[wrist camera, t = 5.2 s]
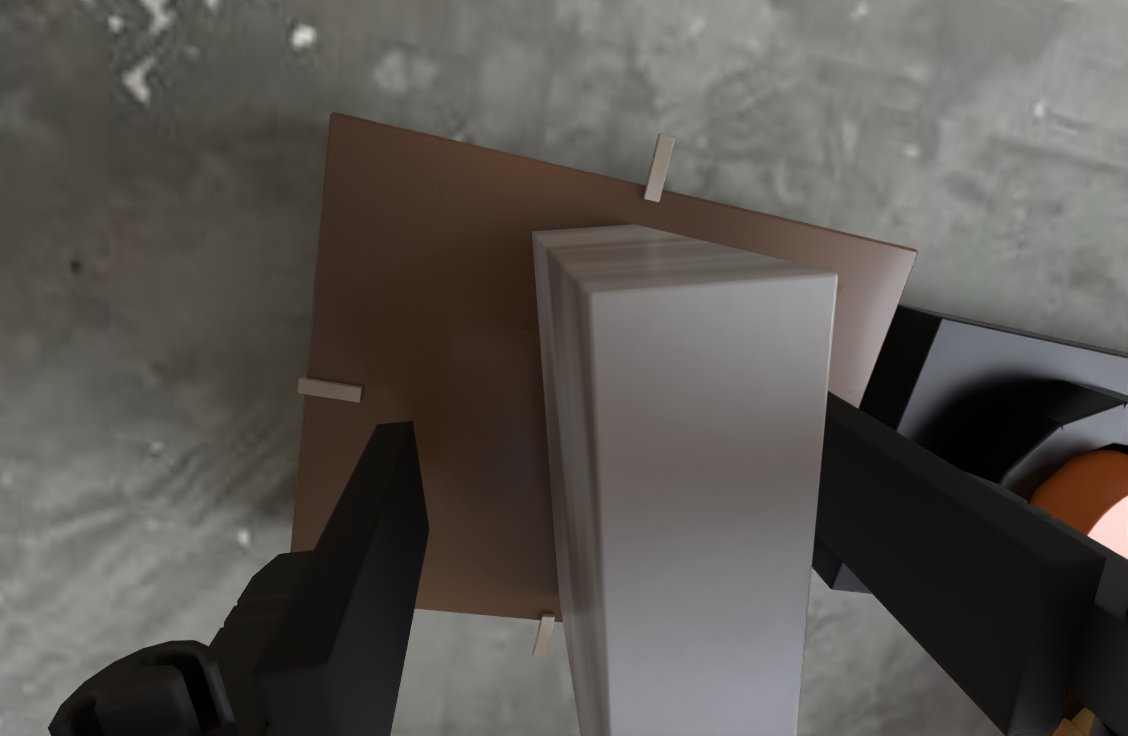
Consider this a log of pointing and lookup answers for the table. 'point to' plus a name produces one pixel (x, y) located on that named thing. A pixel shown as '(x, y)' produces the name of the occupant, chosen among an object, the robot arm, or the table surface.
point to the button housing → (990, 403)
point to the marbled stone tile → (682, 474)
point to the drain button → (1091, 497)
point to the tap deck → (497, 337)
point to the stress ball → (1076, 724)
